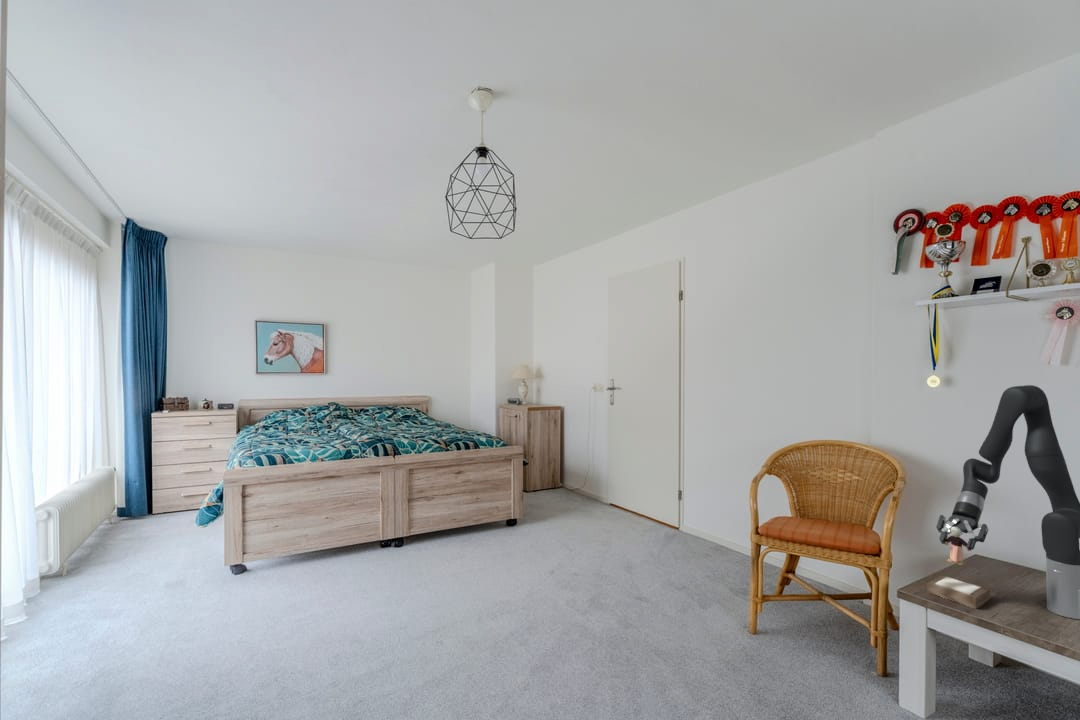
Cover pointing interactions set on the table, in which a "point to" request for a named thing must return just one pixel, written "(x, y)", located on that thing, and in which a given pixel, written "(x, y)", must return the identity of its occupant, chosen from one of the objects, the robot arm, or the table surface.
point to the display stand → (959, 591)
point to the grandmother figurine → (956, 546)
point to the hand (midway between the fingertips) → (955, 545)
